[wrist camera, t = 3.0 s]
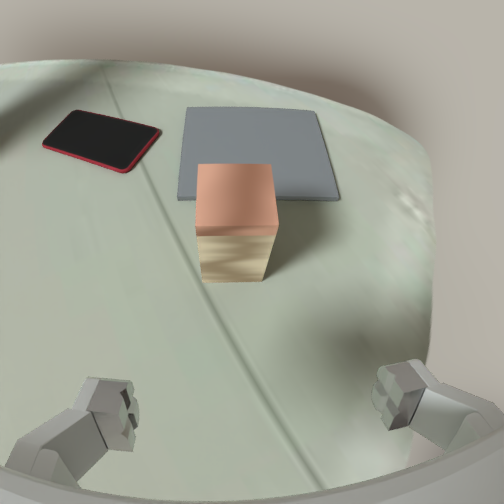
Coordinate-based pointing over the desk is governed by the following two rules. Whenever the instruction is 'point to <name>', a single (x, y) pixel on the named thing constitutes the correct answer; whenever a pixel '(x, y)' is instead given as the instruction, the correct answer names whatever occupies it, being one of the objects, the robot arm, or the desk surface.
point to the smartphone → (101, 140)
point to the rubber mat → (259, 149)
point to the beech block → (235, 221)
